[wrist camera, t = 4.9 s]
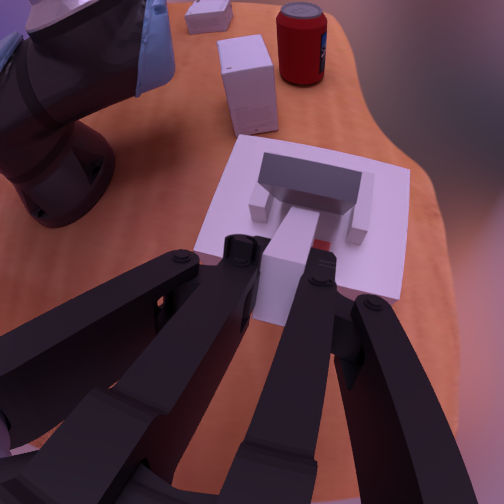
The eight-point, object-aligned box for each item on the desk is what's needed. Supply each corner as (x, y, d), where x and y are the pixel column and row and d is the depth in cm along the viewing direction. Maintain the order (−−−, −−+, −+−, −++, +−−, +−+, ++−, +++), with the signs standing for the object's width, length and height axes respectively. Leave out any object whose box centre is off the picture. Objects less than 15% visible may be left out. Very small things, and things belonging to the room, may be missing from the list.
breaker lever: (342, 216, 24) (356, 203, 15) (280, 202, 25) (257, 182, 16) (346, 196, 24) (362, 172, 15) (284, 183, 25) (264, 152, 16)
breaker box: (374, 319, 29) (415, 291, 19) (214, 280, 32) (183, 236, 22) (390, 212, 33) (421, 153, 23) (248, 181, 36) (235, 115, 26)
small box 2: (278, 131, 38) (274, 65, 29) (235, 138, 39) (220, 74, 29) (267, 93, 41) (262, 32, 32) (228, 99, 42) (216, 40, 32)
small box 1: (227, 32, 50) (223, 10, 45) (188, 35, 51) (183, 15, 46) (234, 16, 53) (230, -4, 48) (198, 19, 54) (193, 0, 49)
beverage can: (332, 80, 41) (338, 13, 30) (295, 93, 41) (294, 22, 30) (306, 59, 44) (307, -3, 33) (271, 71, 43) (265, 6, 32)
